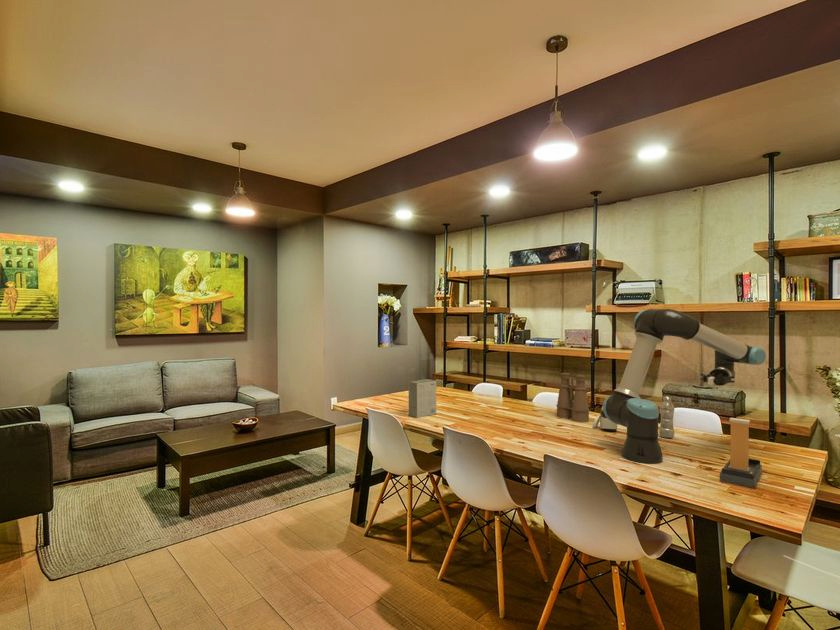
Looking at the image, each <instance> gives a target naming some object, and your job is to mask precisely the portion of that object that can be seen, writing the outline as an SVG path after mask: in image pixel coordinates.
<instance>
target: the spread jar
mask: <svg viewBox="0 0 840 630" xmlns="http://www.w3.org/2000/svg"><path fill="white" fill-rule="evenodd" d="M599 424H600V427H599V428H600V430H601V431H603V432H606V433H607V432H609V433H614V432H617V431H618V424H616V423H614V422H612V421H610V420H609V419H608V418H607V417H606V416H605V414H604V412H603V406H601V412H600V414H597V415H596V416H595V419H594V421H593V424H592V428H594V429H596V428H597V426H599Z"/></svg>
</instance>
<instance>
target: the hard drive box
mask: <svg viewBox="0 0 840 630" xmlns="http://www.w3.org/2000/svg"><path fill="white" fill-rule="evenodd" d="M433 415H434V416H435V415H437V380H435V379H428V378H427V379H418V380H411V381H408V416H409V417H412V418H422V417H428V416H433Z"/></svg>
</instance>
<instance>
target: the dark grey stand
mask: <svg viewBox="0 0 840 630" xmlns="http://www.w3.org/2000/svg"><path fill="white" fill-rule="evenodd" d="M729 465H730V459H729V460H728V461H727V462H726V464H725V465H724V466H723V467H721V471H720V472H719V482H722V483H725V482H726V484H730V485H737V486H740V487H745V488H750V489H754V490H755V489H756V487H757V484H758V483H759V480H760V478H761V475H762V474H763V465H762V463H761V460H760V459H755V458H750V457H748V467H749V468H751V472H750V473H746V472H741V471H736V470H731V469H728V466H729Z"/></svg>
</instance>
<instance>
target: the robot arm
mask: <svg viewBox="0 0 840 630" xmlns="http://www.w3.org/2000/svg"><path fill="white" fill-rule="evenodd" d="M632 323H633V326H634V327H633V329H634V330H635V331H634V336H635V337H636V340H635V342H634V345H633V348H632V350H631V352H630V356H629V358H628V362H627V364H626V366H625V369H624V372H623V375H622V377H621V380H620V383H619V386H618V387H617V388H615V389H614V390H613V392H612V394H611V395H610V396H609V395H608V396H607V397H606V398H605V399H604V401H603V403H602V407H603V412H604V414H605V416H606V417H607V418H608V419H609V420H610V421H612V422H614V423H616V424H617V425H620V426H622V427H625V428H626V439H625V441H624V443H623V447H622V449H621V456H622V457H623V459H627V460H630V461H633V462H637V463H644V464H659V463H661V462H663V461H664V459H663V452H662V448H661V445H660V443H659V418H660V417H659V414H660V412H659V406H658V405H657V403H656V402H654V401H651V400H648V399H643V398H641V397H640V393H641V390H642V387H643V385H644V382H645V379H646V376H647V373H648V370H649V368H650V365H651V362H652V359H653V356H654V353H655V351H656V348H657V345H659V344H661V343H663V341H664V338H665V336H667V337H676V338H681V339H683V340H686V341H688V340H689V341H690V340H692V341H693V342H696V343H698V344H701V345H703V346H705V347H708V348H710V349H712V350H714V369H712V370H711V371H710V372H709V373H708V374H706V373H700V380H701V381H702V382H703V383H707V385H708V386H713V385H715V386H719V387H721V386H725V385H727V384H730V383H732V384H733V383H735V380H736V379H735V377H736V372H735V363H736V364H745V365H751V366H756V365H757V366H758V365H759V366H760V365H763V364H764V362H766V358H767V353H766V351H765V349H763V348H761V347H757V346H750V345H748V344H746V343H743V342H741V341H738V340H737V339H734V338H732V337H731V336H728V335H726V334H724V333H721V332H719V331H717V330H715V329H712V328H710V327H709V326H706V325H705V324H701V322H700V320H699V319H697V318H695V317H693V316H690V315H688V314H686V313H683V312H681V311H680V310H679V311H678V310H675V309H673V308H647V309H644V310H641V311H640V312H637V314H636V315H635V316H634V318H633V321H632Z"/></svg>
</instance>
